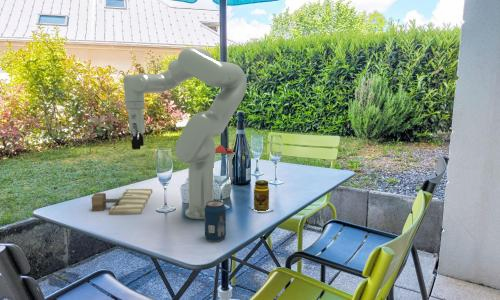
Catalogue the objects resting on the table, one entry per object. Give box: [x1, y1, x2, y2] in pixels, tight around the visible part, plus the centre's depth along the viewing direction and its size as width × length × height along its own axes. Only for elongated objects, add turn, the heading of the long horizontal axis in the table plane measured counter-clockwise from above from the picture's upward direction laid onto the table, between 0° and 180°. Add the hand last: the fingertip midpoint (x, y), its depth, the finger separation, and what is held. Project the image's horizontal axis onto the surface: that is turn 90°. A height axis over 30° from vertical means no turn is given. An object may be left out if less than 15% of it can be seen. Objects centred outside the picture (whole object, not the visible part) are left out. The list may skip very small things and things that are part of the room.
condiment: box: [253, 179, 270, 211], centre depth 149 cm, size 7×8×12 cm
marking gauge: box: [91, 192, 120, 212], centre depth 148 cm, size 5×10×6 cm, turn 96°
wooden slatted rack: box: [108, 188, 153, 216], centre depth 157 cm, size 30×12×2 cm, turn 6°
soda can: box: [204, 200, 227, 242], centre depth 121 cm, size 7×7×12 cm
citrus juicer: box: [215, 144, 236, 183], centre depth 187 cm, size 16×17×20 cm
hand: (138, 147), depth 152 cm, fingers open, 9 cm apart
